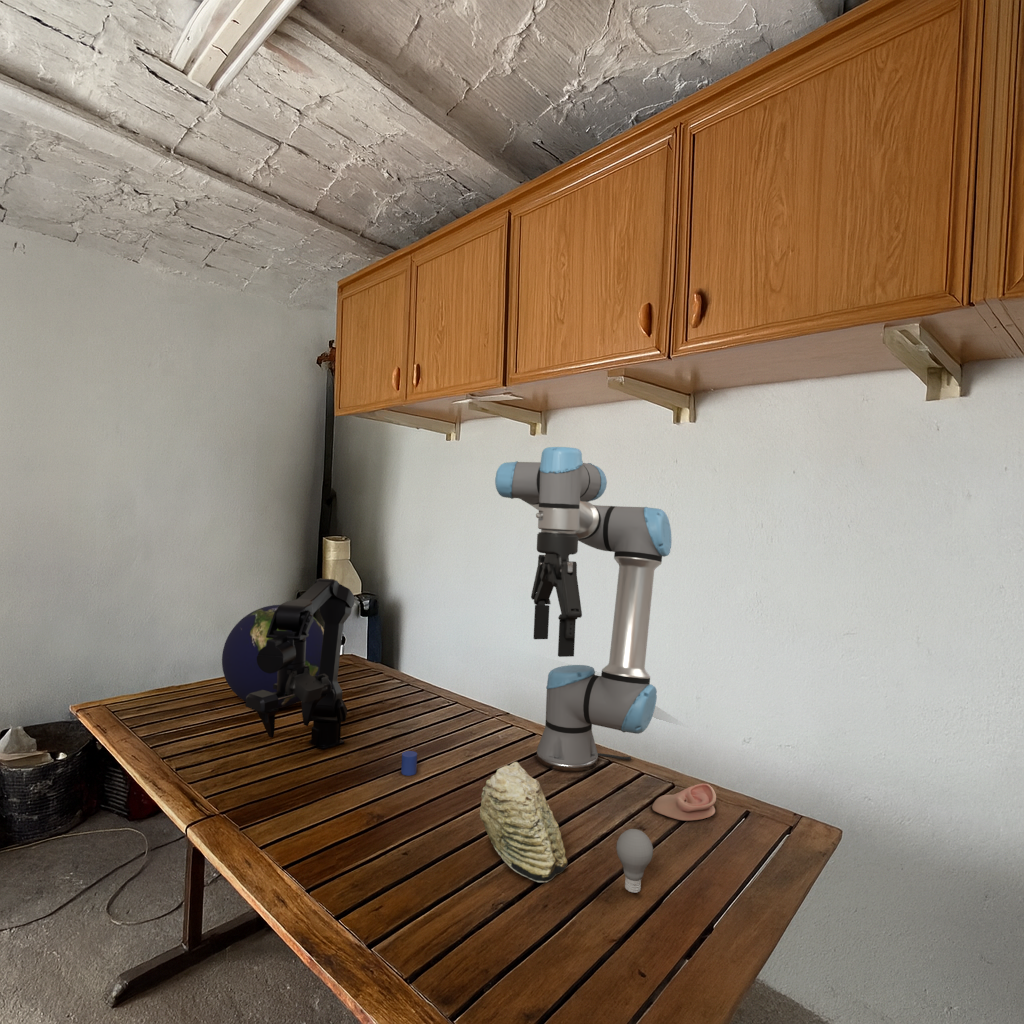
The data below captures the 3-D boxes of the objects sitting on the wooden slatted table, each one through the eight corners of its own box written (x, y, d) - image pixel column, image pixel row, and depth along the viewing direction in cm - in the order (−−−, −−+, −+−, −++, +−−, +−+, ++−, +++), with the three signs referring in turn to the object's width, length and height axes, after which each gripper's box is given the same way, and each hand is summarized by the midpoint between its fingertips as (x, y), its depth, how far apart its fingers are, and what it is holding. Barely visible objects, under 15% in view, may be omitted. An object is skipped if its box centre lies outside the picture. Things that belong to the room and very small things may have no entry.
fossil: (501, 827, 124) (504, 751, 124) (575, 868, 111) (578, 784, 111) (467, 843, 118) (470, 763, 118) (541, 889, 105) (545, 799, 105)
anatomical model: (653, 797, 131) (652, 774, 142) (652, 816, 131) (651, 792, 142) (720, 806, 128) (714, 782, 140) (719, 826, 128) (713, 800, 140)
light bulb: (610, 879, 108) (613, 822, 108) (644, 879, 109) (647, 822, 109) (619, 902, 102) (622, 840, 102) (655, 901, 103) (658, 840, 103)
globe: (289, 685, 209) (292, 594, 208) (348, 705, 191) (352, 606, 191) (199, 706, 185) (203, 604, 184) (258, 732, 167) (262, 619, 167)
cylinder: (415, 775, 146) (416, 757, 146) (400, 775, 146) (401, 756, 145) (416, 769, 149) (417, 750, 149) (401, 769, 149) (402, 750, 149)
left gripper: (279, 677, 128) (276, 753, 128) (349, 659, 143) (346, 727, 144) (245, 667, 134) (242, 740, 134) (316, 651, 149) (313, 717, 150)
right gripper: (518, 527, 127) (513, 632, 127) (562, 535, 103) (556, 665, 103) (553, 528, 129) (549, 632, 129) (605, 536, 105) (599, 663, 106)
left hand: (289, 731), depth 140 cm, fingers open, 9 cm apart
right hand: (552, 647), depth 116 cm, fingers open, 13 cm apart
